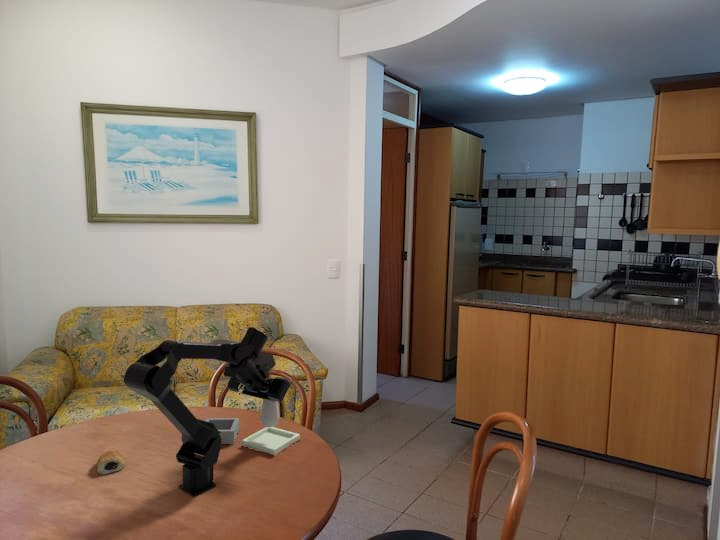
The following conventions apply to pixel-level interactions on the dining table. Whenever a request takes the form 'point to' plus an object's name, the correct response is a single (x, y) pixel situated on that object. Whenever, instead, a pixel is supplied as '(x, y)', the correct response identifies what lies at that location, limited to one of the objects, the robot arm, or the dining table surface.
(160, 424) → the dining table surface
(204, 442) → the robot arm
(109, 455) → the pastry
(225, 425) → the holder
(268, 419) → the salt shaker
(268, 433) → the tray
